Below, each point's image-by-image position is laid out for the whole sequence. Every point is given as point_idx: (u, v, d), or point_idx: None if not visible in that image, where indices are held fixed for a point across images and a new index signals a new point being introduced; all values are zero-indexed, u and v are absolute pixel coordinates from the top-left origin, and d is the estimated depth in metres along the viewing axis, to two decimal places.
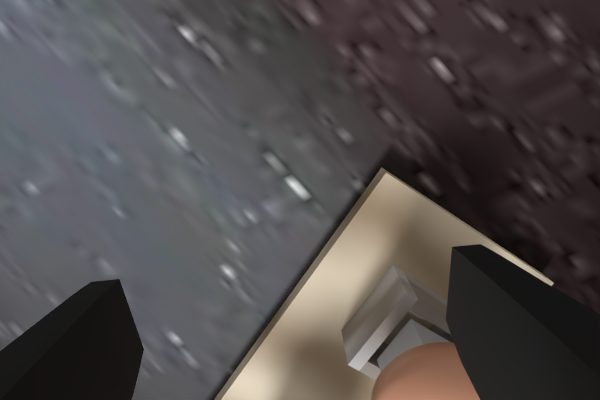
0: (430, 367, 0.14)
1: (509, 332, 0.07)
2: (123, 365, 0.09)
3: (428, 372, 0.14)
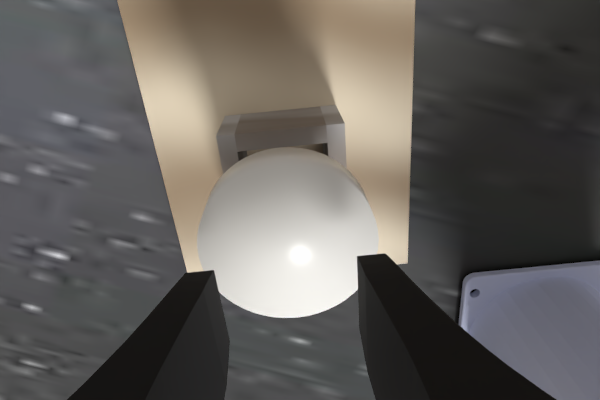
0: None
1: (386, 344, 0.07)
2: (220, 356, 0.09)
3: None
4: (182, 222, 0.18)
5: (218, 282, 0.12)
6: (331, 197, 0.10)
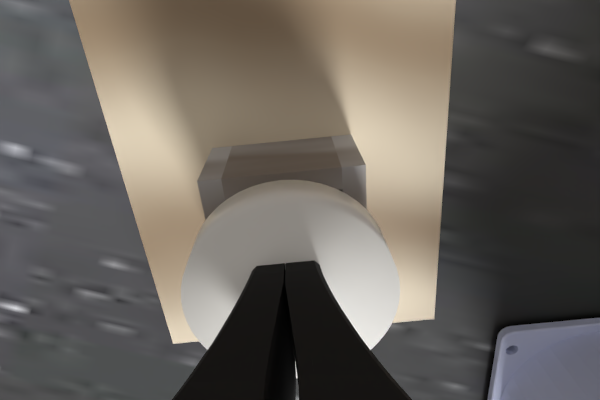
0: None
1: (295, 353, 0.07)
2: (291, 349, 0.09)
3: None
4: (162, 274, 0.15)
5: (207, 340, 0.10)
6: (344, 243, 0.09)
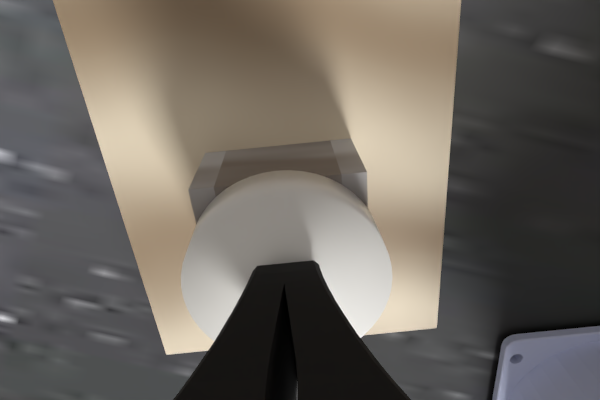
0: None
1: (294, 353, 0.07)
2: (292, 349, 0.09)
3: None
4: (154, 283, 0.14)
5: (206, 325, 0.10)
6: (338, 230, 0.09)
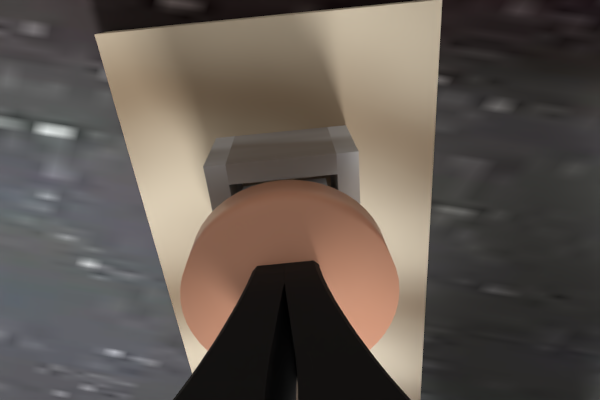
0: (192, 252, 0.09)
1: (294, 353, 0.07)
2: (292, 349, 0.09)
3: (195, 259, 0.09)
4: None
5: None
6: None
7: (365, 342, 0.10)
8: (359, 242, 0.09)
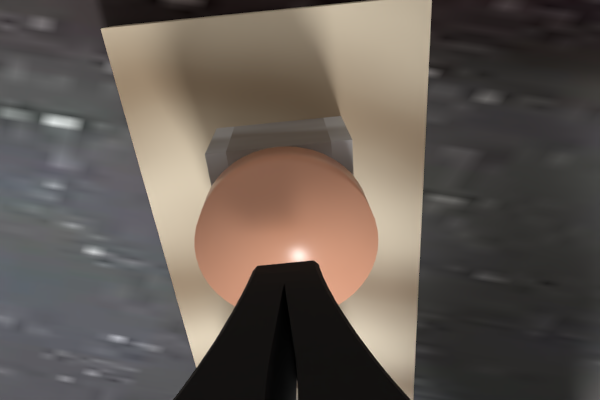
0: (205, 205, 0.10)
1: (294, 353, 0.07)
2: (292, 349, 0.09)
3: (207, 211, 0.10)
4: None
5: None
6: None
7: (350, 286, 0.12)
8: (344, 196, 0.10)
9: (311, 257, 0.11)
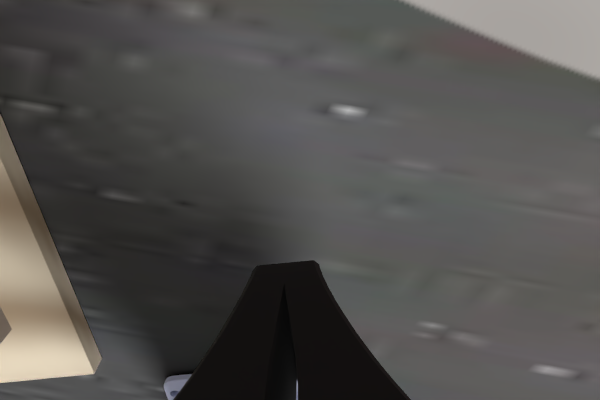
0: None
1: (294, 353, 0.07)
2: (292, 349, 0.09)
3: None
4: None
5: None
6: None
7: None
8: None
9: None
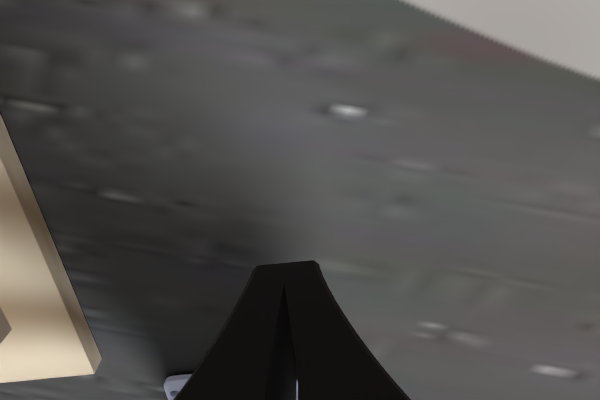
0: None
1: (294, 353, 0.07)
2: (292, 349, 0.09)
3: None
4: None
5: None
6: None
7: None
8: None
9: None
